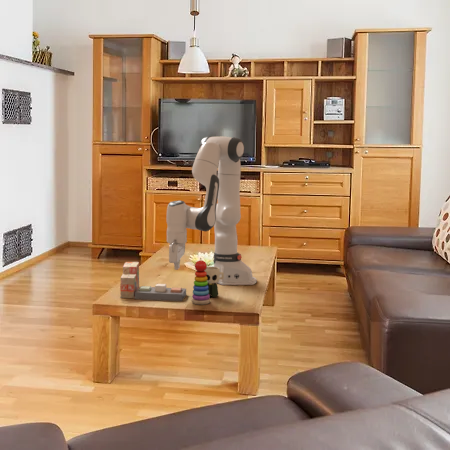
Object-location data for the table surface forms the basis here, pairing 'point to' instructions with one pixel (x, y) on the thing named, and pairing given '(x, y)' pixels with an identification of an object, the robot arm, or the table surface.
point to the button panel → (160, 295)
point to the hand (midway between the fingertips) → (177, 269)
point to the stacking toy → (200, 285)
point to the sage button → (145, 288)
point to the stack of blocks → (129, 280)
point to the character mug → (213, 279)
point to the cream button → (160, 288)
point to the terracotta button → (176, 290)
